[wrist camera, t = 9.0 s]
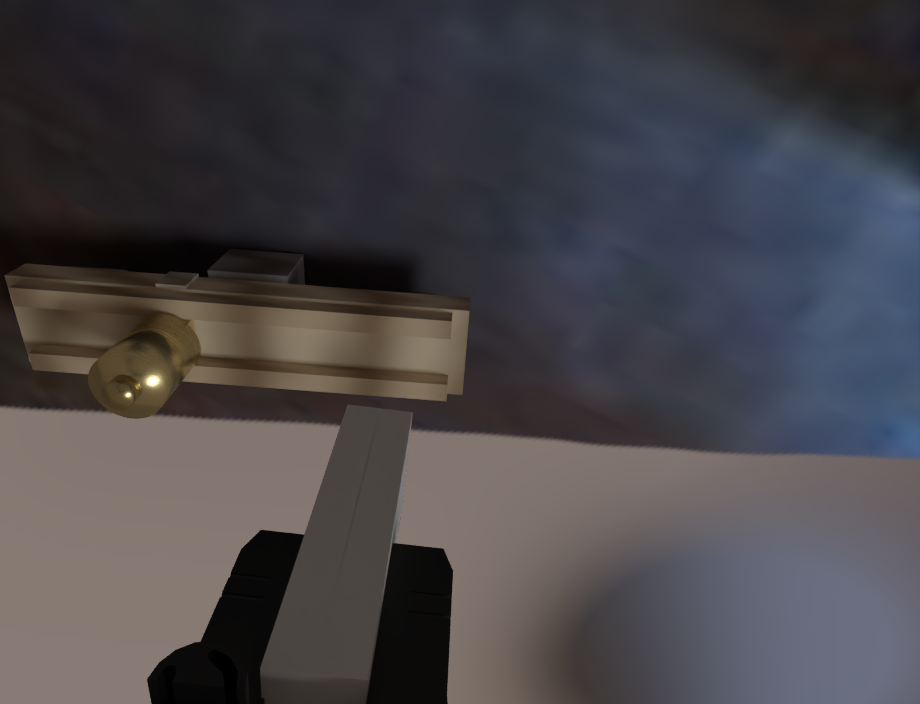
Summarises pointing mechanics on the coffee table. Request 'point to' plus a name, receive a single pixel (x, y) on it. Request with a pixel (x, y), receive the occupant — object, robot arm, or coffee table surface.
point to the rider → (145, 366)
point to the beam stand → (252, 325)
